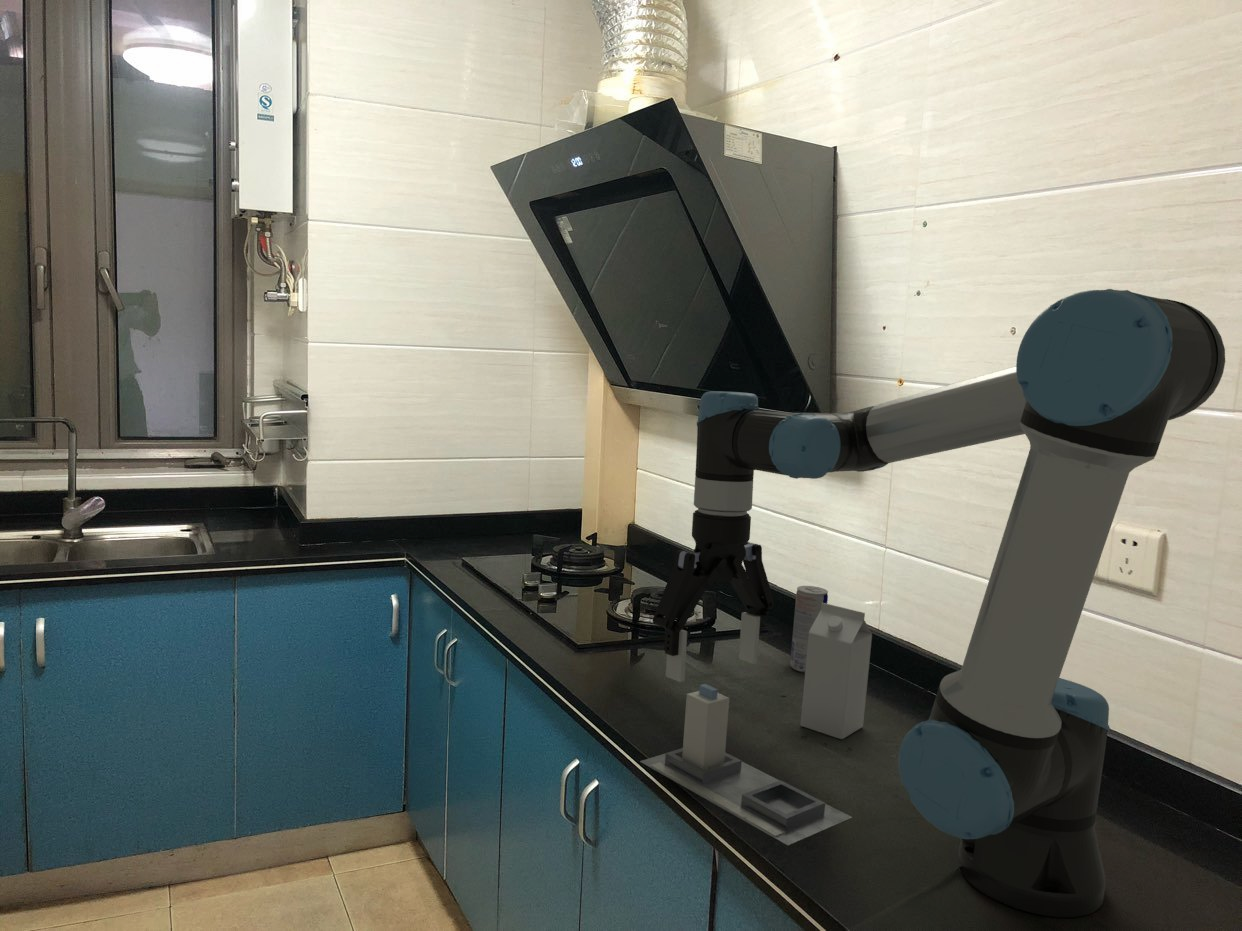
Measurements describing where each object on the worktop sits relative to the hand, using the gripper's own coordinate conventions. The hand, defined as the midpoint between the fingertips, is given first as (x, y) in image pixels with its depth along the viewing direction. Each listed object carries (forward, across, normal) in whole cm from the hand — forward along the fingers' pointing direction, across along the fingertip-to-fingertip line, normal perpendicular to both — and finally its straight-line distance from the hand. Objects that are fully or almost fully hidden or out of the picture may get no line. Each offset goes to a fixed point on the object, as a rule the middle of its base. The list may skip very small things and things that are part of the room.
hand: (712, 670), depth 127 cm
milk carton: (+15, -29, -2) cm, 33 cm away
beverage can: (+14, -47, -22) cm, 54 cm away
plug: (+14, 0, -1) cm, 14 cm away
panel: (+15, 0, +6) cm, 16 cm away
